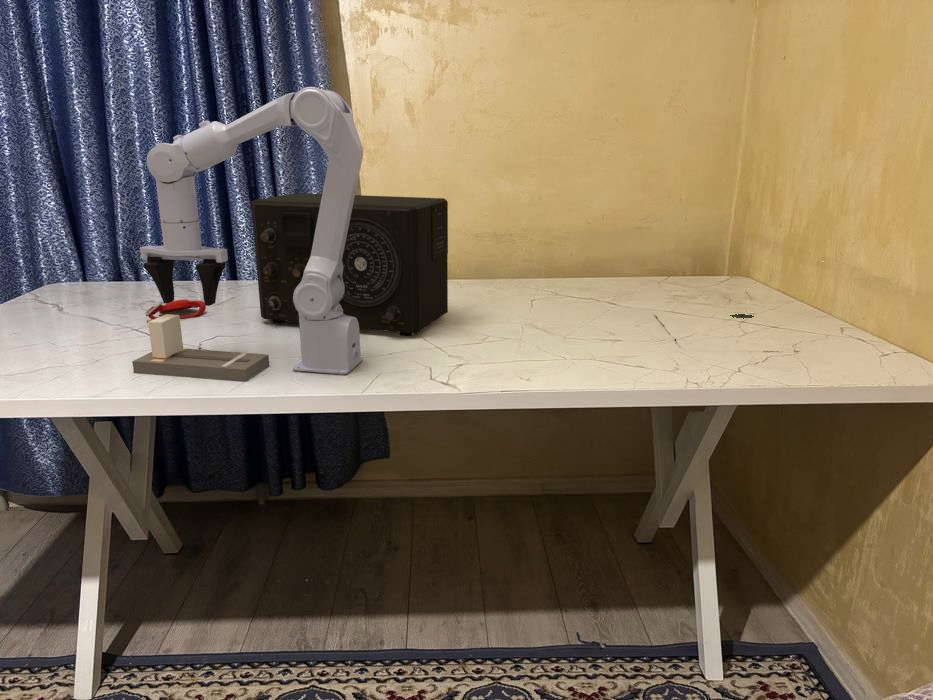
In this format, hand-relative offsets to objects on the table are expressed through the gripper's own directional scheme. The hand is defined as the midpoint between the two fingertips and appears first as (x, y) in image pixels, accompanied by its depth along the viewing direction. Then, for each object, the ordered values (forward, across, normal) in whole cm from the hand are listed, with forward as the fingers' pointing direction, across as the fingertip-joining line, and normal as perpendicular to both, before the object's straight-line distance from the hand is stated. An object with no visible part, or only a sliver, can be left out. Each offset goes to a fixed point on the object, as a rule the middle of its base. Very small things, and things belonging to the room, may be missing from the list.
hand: (189, 303), depth 118 cm
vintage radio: (+11, -16, -31) cm, 37 cm away
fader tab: (+8, +3, +3) cm, 9 cm away
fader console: (+10, -3, +3) cm, 11 cm away
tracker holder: (+11, +22, -28) cm, 37 cm away
